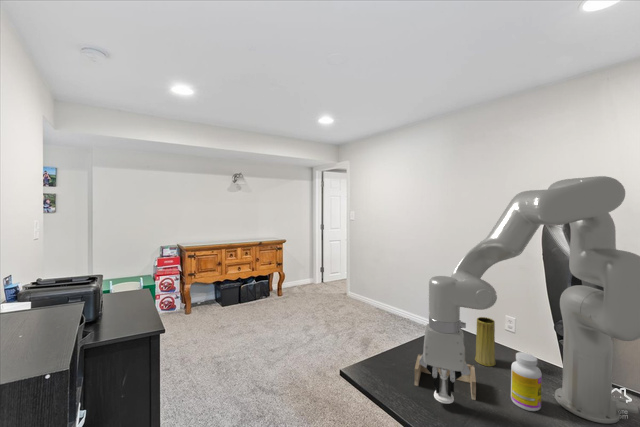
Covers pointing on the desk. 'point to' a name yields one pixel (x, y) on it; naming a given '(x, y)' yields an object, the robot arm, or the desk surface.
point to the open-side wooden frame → (466, 378)
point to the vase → (485, 341)
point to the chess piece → (443, 389)
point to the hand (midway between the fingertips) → (443, 391)
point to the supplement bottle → (526, 382)
